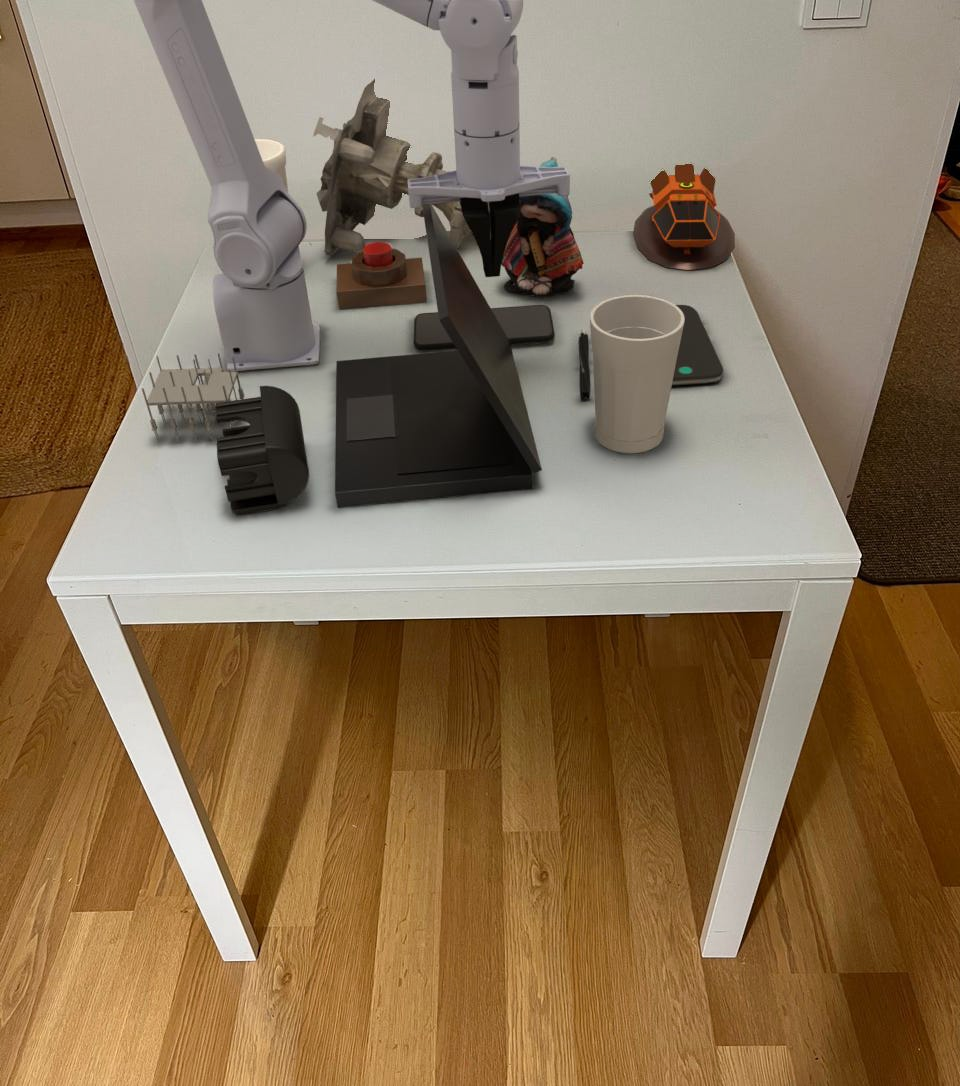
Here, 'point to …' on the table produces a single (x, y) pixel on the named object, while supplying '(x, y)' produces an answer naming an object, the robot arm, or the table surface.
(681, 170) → the toy spacecraft
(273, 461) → the end cap
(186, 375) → the building frame
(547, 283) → the figurine
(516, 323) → the smartphone
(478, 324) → the laptop screen
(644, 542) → the table surface
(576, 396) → the table surface
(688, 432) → the table surface
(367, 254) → the button
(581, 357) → the black pen
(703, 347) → the smartphone
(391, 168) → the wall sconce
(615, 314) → the cup
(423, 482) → the laptop
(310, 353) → the robot arm
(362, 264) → the switch block
